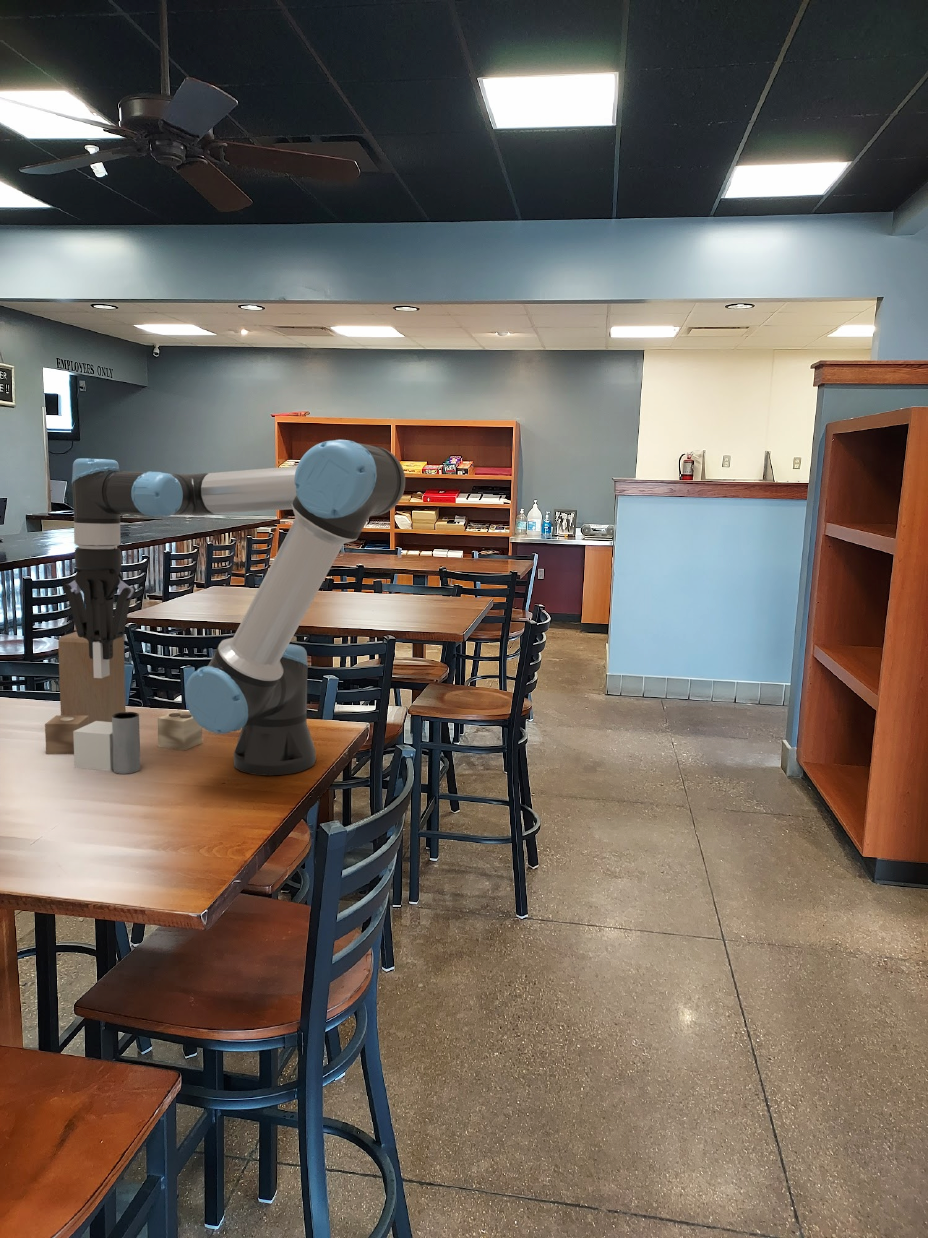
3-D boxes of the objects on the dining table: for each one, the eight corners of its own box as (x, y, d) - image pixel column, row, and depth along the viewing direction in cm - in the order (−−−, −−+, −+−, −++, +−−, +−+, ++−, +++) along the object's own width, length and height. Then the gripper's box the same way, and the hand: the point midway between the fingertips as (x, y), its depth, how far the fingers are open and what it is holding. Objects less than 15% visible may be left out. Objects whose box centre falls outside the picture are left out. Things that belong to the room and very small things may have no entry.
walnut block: (89, 744, 161) (88, 714, 160) (79, 754, 155) (78, 723, 154) (57, 745, 160) (56, 714, 159) (46, 754, 154) (44, 723, 153)
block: (107, 733, 168) (104, 638, 165) (59, 731, 168) (55, 636, 165) (127, 720, 178) (125, 630, 175) (82, 718, 178) (79, 628, 175)
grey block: (131, 759, 153) (130, 723, 152) (110, 771, 146) (109, 734, 145) (97, 756, 154) (96, 721, 153) (74, 768, 147) (73, 731, 146)
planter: (145, 768, 148) (144, 714, 147) (126, 776, 144) (125, 719, 143) (127, 764, 150) (126, 710, 149) (107, 771, 146) (106, 716, 145)
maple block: (202, 742, 165) (202, 713, 164) (183, 751, 159) (183, 720, 158) (177, 739, 167) (176, 709, 166) (158, 747, 161) (157, 717, 160)
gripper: (143, 547, 147) (146, 674, 151) (76, 544, 149) (80, 670, 152) (121, 549, 140) (124, 683, 143) (50, 546, 141) (55, 678, 145)
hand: (101, 676), depth 148 cm, fingers closed
